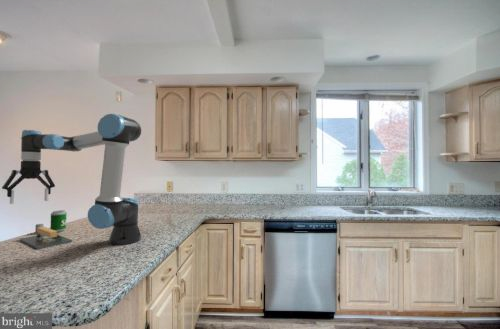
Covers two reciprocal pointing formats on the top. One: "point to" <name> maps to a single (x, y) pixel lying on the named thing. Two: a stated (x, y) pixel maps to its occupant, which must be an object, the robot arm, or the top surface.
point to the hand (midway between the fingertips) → (29, 202)
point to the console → (44, 241)
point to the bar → (45, 231)
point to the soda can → (58, 220)
